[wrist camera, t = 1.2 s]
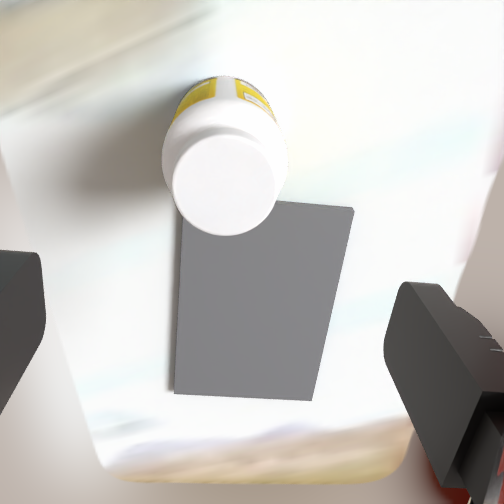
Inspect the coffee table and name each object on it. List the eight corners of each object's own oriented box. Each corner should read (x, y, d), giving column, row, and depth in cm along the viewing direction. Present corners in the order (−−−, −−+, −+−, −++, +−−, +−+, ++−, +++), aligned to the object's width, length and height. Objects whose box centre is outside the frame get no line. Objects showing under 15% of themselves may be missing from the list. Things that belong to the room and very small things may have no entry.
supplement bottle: (174, 170, 27) (149, 247, 19) (176, 69, 25) (149, 104, 16) (268, 177, 28) (287, 256, 19) (279, 79, 25) (307, 118, 17)
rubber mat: (184, 192, 28) (184, 196, 27) (352, 207, 29) (354, 211, 28) (174, 387, 35) (173, 393, 34) (310, 395, 36) (311, 401, 35)
